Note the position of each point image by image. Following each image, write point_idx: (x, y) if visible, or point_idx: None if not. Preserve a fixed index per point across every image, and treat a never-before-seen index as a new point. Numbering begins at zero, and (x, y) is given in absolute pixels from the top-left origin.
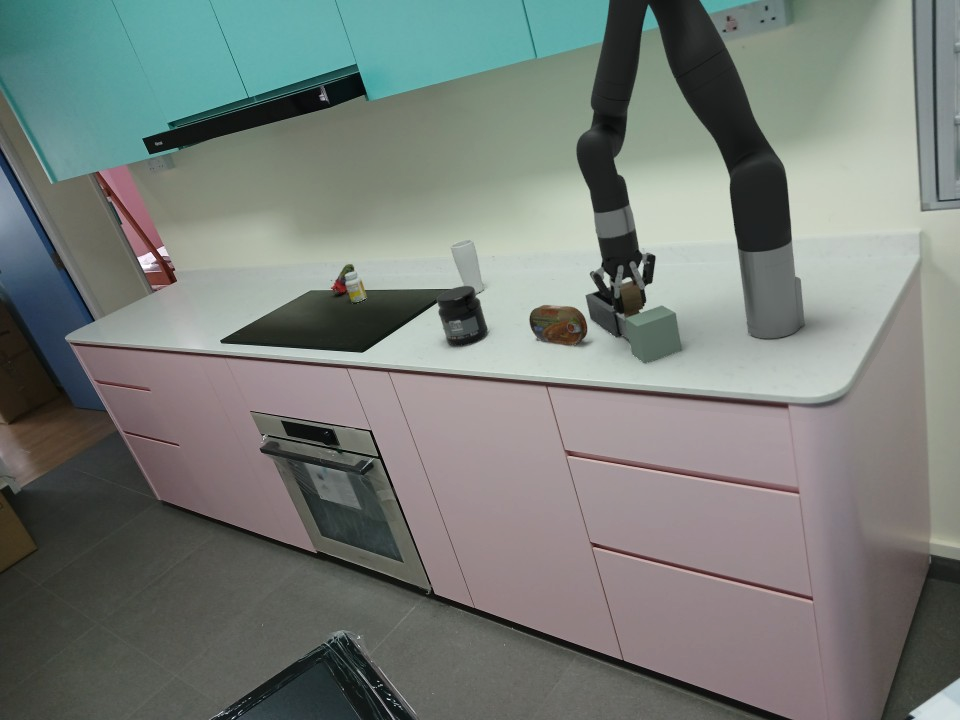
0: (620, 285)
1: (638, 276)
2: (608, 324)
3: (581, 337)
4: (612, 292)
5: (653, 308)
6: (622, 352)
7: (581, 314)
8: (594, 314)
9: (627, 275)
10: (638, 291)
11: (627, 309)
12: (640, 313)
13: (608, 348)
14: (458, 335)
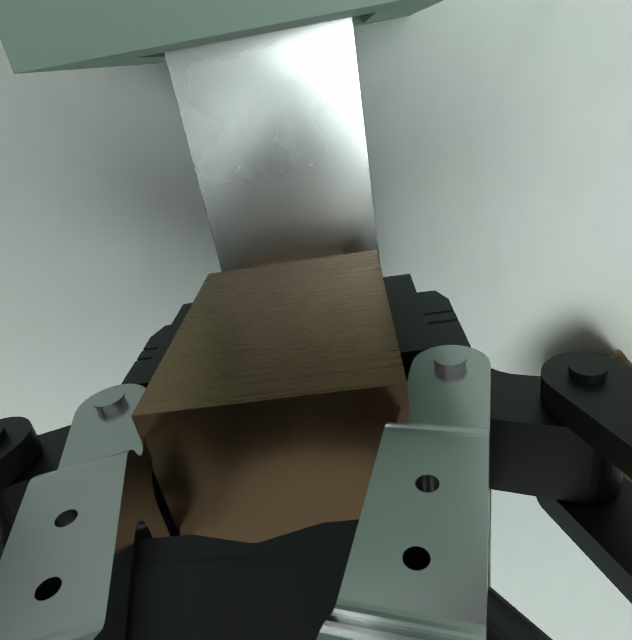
0: (406, 427)
1: (65, 498)
2: None
3: (615, 353)
4: (507, 413)
5: (114, 48)
6: (446, 97)
7: (629, 480)
8: None
9: (230, 573)
10: (179, 359)
11: (349, 271)
12: (277, 4)
13: (491, 212)
14: None
